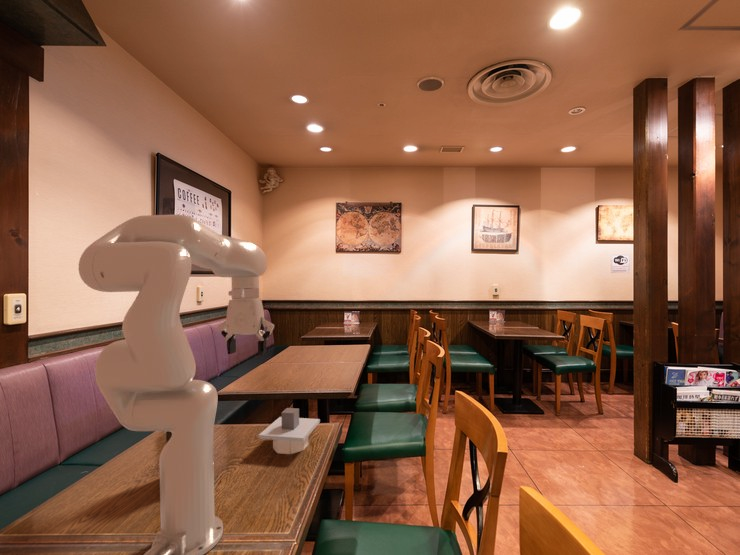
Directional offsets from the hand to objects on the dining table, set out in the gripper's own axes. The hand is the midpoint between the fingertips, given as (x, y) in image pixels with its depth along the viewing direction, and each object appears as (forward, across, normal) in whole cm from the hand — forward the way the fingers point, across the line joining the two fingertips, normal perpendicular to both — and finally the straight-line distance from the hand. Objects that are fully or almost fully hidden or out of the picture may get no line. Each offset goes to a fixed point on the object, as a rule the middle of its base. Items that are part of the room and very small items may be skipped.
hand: (246, 353), depth 103 cm
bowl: (+30, +9, +9) cm, 33 cm away
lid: (+25, +9, +9) cm, 28 cm away
